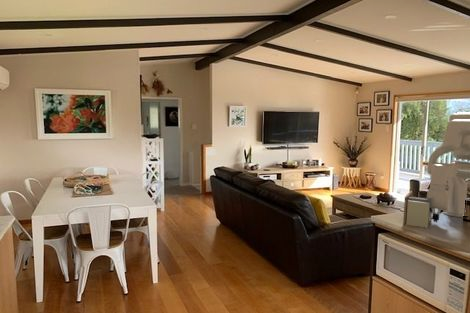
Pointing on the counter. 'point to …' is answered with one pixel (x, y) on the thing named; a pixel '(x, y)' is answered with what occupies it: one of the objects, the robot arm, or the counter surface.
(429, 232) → the counter surface
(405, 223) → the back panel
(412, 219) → the book row
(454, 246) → the counter surface
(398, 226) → the counter surface
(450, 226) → the counter surface
